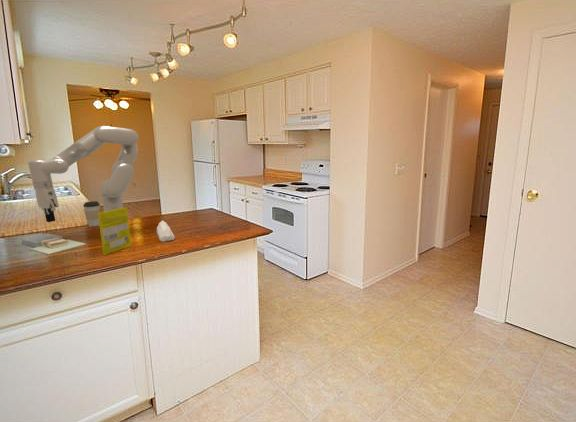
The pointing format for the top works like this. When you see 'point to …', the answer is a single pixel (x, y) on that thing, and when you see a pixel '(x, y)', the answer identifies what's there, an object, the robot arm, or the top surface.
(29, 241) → the block
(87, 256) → the top surface
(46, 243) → the birch tile
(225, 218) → the top surface
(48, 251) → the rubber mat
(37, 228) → the top surface
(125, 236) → the food package
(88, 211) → the coffee cup
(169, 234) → the crystal
